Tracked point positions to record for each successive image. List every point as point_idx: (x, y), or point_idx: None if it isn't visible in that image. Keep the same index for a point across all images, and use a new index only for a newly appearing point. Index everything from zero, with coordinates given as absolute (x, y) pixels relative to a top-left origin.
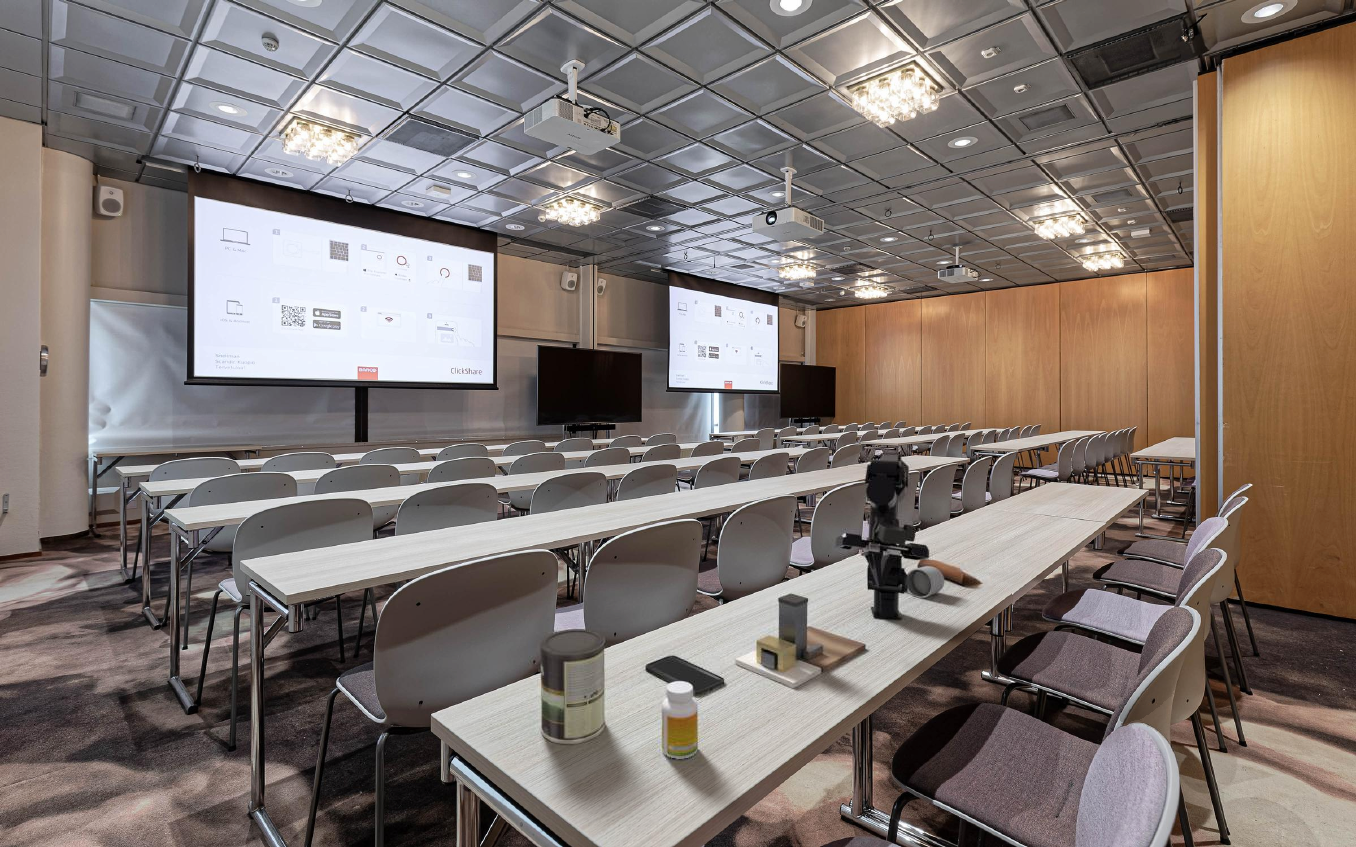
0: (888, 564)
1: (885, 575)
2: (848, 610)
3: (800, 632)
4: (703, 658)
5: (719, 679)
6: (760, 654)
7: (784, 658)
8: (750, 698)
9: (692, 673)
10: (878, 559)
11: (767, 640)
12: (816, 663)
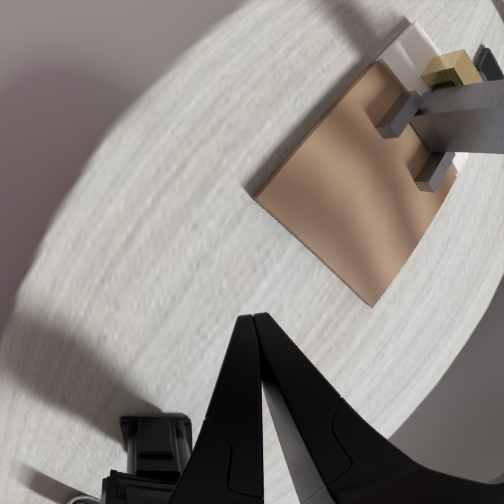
0: (223, 493)
1: (234, 385)
2: None
3: (460, 94)
4: None
5: (482, 72)
6: None
7: (450, 54)
8: (447, 21)
9: None
10: (382, 495)
11: None
12: (388, 80)
